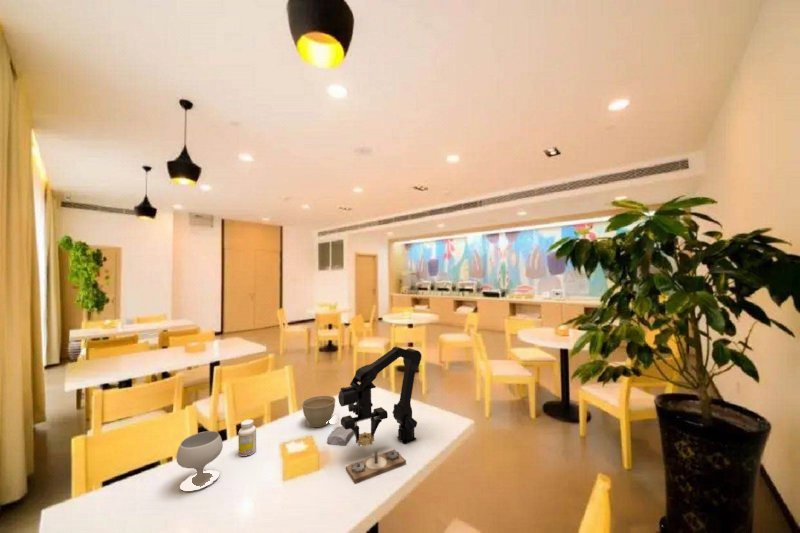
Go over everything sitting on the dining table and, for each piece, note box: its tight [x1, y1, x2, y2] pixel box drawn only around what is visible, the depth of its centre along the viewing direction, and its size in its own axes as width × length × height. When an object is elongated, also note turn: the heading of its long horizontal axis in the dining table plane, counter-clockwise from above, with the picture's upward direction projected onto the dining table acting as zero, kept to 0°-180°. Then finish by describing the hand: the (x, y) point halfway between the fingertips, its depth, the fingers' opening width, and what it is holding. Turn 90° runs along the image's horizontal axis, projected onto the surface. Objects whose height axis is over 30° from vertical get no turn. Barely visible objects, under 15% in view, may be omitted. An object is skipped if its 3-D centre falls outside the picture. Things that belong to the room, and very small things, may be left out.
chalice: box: [176, 430, 223, 487], centre depth 110 cm, size 14×14×15 cm
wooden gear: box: [355, 431, 375, 448], centre depth 124 cm, size 7×7×2 cm
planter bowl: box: [301, 395, 336, 428], centre depth 152 cm, size 16×16×11 cm
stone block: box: [327, 425, 355, 447], centre depth 137 cm, size 12×5×10 cm
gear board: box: [345, 449, 407, 485], centre depth 115 cm, size 21×9×6 cm, turn 120°
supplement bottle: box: [237, 419, 257, 457], centre depth 127 cm, size 7×7×13 cm
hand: (365, 438), depth 124 cm, fingers closed on wooden gear, 6 cm apart
